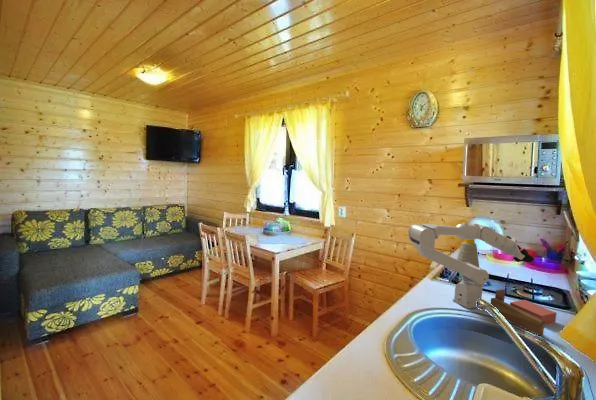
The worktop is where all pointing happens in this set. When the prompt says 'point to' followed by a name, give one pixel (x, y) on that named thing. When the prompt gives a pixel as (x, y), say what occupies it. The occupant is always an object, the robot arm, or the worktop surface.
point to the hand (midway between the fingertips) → (525, 254)
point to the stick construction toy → (458, 278)
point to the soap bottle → (468, 252)
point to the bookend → (500, 294)
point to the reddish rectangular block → (535, 311)
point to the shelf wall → (519, 316)
